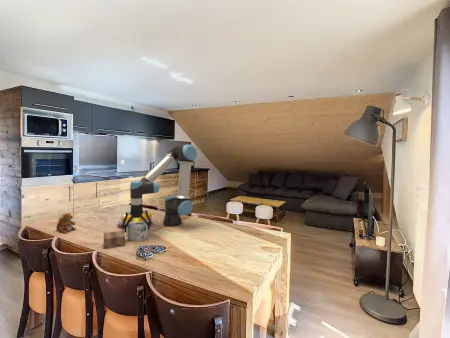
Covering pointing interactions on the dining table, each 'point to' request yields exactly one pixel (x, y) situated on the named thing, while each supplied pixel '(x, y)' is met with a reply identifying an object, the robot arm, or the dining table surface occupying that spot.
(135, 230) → the light bulb box
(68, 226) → the stuffed squirrel
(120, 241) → the walnut step
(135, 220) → the fruit bowl
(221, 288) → the dining table surface
